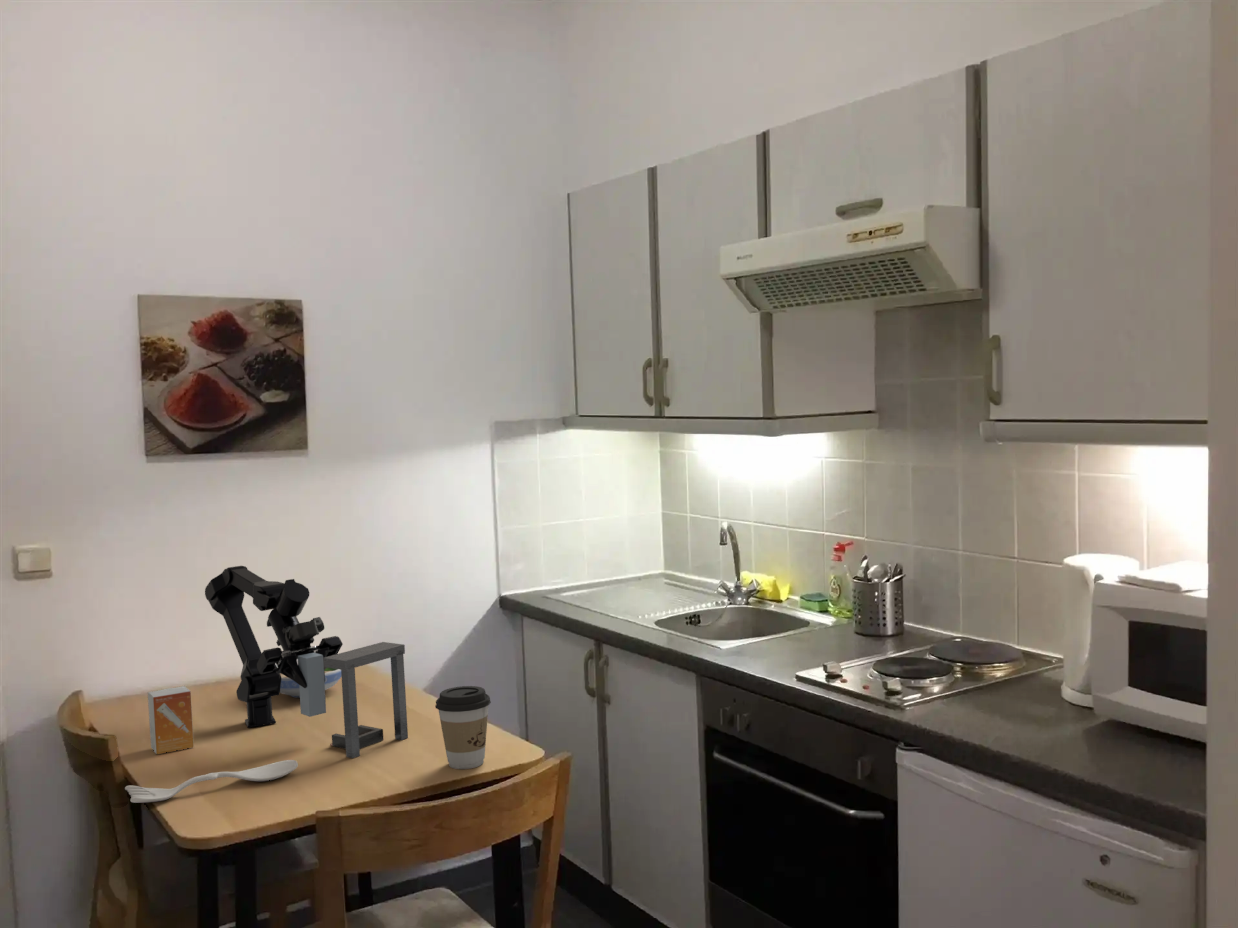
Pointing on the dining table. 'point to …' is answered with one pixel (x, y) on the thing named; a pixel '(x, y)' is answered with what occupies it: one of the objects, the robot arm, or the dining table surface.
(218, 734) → the dining table surface
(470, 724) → the coffee cup
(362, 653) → the overhang seat
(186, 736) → the small box
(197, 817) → the dining table surface
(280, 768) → the spoon
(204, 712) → the dining table surface
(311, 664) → the blue-grey rectangular block
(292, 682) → the ramen bowl
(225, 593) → the robot arm
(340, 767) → the dining table surface
